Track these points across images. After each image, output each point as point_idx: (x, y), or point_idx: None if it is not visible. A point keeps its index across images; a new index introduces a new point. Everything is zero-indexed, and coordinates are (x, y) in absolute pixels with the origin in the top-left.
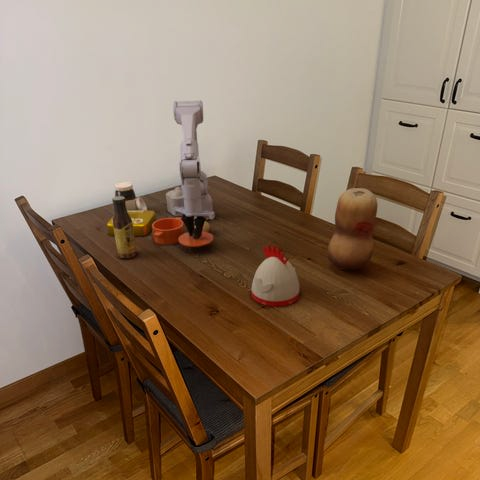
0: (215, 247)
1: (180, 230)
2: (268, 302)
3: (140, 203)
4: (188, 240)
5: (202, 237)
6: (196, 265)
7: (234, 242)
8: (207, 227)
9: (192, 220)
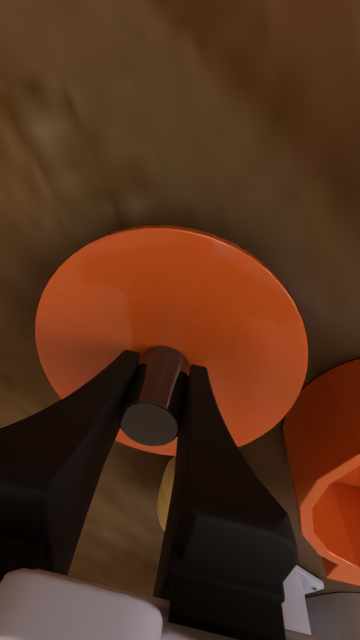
0: None
1: (310, 456)
2: None
3: None
4: (210, 321)
5: None
6: (77, 29)
7: (10, 397)
8: (159, 498)
9: (169, 521)
